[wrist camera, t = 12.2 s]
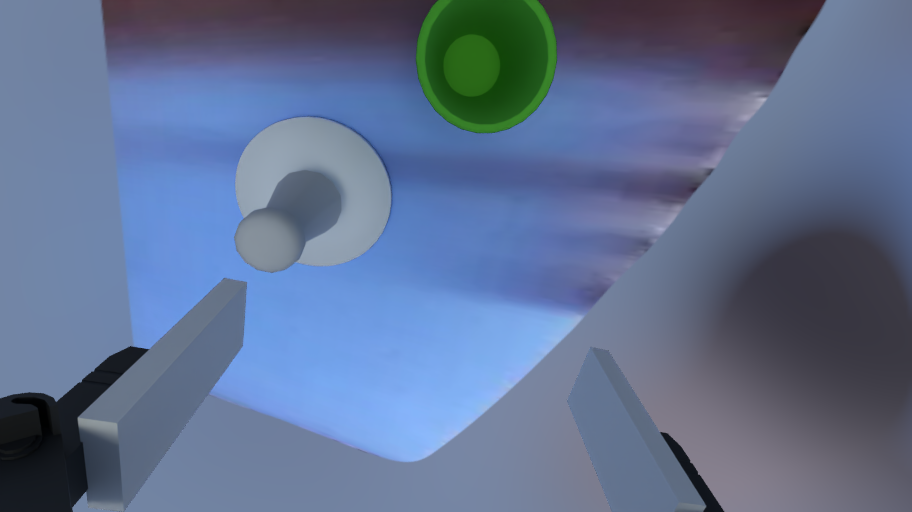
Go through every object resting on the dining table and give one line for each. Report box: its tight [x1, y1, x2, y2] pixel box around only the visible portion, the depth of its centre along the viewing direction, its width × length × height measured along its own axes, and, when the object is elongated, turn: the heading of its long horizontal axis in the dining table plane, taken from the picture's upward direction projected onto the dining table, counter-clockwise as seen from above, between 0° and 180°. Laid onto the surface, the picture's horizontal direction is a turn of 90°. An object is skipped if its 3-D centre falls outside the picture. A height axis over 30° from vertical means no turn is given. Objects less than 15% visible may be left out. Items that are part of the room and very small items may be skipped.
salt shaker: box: [234, 170, 342, 273], centre depth 33 cm, size 6×6×13 cm
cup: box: [416, 0, 557, 133], centre depth 32 cm, size 9×9×11 cm
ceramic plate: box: [235, 116, 392, 266], centre depth 40 cm, size 14×14×1 cm
